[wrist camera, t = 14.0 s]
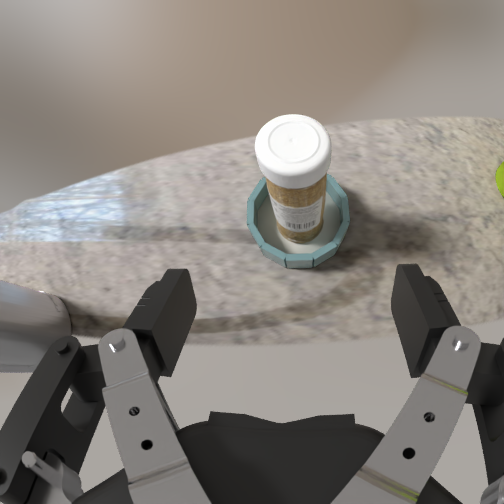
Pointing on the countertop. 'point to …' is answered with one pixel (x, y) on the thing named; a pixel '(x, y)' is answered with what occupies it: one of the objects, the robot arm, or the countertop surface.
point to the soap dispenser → (500, 178)
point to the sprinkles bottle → (295, 173)
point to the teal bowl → (289, 252)
